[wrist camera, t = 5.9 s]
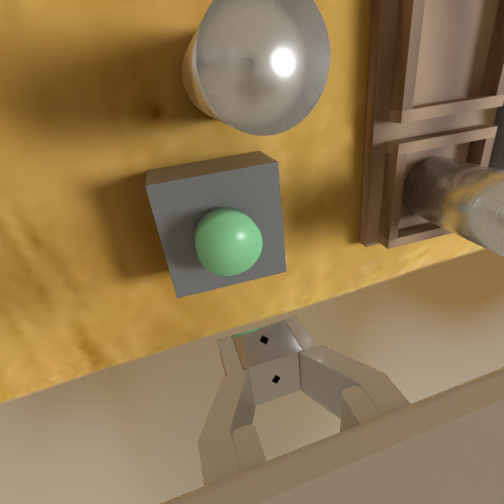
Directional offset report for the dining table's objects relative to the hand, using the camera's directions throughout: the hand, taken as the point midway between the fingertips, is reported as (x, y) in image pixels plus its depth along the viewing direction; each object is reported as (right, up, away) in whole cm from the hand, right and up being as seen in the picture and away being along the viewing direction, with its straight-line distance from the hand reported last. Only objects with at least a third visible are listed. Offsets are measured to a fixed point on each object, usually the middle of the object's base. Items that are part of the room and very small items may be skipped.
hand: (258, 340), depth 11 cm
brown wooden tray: (+14, +14, +14) cm, 24 cm away
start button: (-3, +6, +12) cm, 13 cm away
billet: (-2, +14, +9) cm, 17 cm away
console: (-3, +6, +13) cm, 14 cm away
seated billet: (+15, +9, +15) cm, 23 cm away
